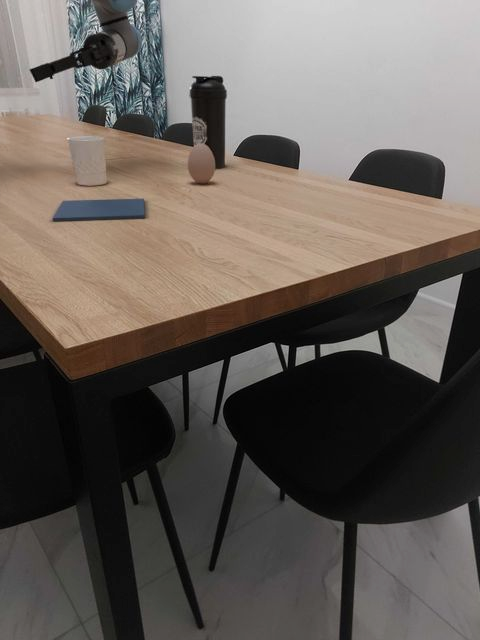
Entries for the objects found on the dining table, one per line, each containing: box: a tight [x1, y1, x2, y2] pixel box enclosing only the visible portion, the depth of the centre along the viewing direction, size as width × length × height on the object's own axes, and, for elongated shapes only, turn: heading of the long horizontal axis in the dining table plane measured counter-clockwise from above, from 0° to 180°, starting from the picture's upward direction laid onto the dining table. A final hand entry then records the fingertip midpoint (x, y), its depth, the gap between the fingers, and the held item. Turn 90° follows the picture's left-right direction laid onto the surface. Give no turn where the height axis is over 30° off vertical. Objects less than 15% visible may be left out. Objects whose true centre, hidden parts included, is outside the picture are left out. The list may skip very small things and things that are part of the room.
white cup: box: [67, 135, 108, 187], centre depth 117 cm, size 8×8×10 cm
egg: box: [187, 143, 216, 185], centre depth 120 cm, size 7×7×9 cm
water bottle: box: [188, 75, 228, 170], centre depth 139 cm, size 10×10×23 cm
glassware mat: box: [52, 198, 146, 222], centre depth 97 cm, size 16×14×1 cm
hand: (57, 68), depth 111 cm, fingers open, 13 cm apart
